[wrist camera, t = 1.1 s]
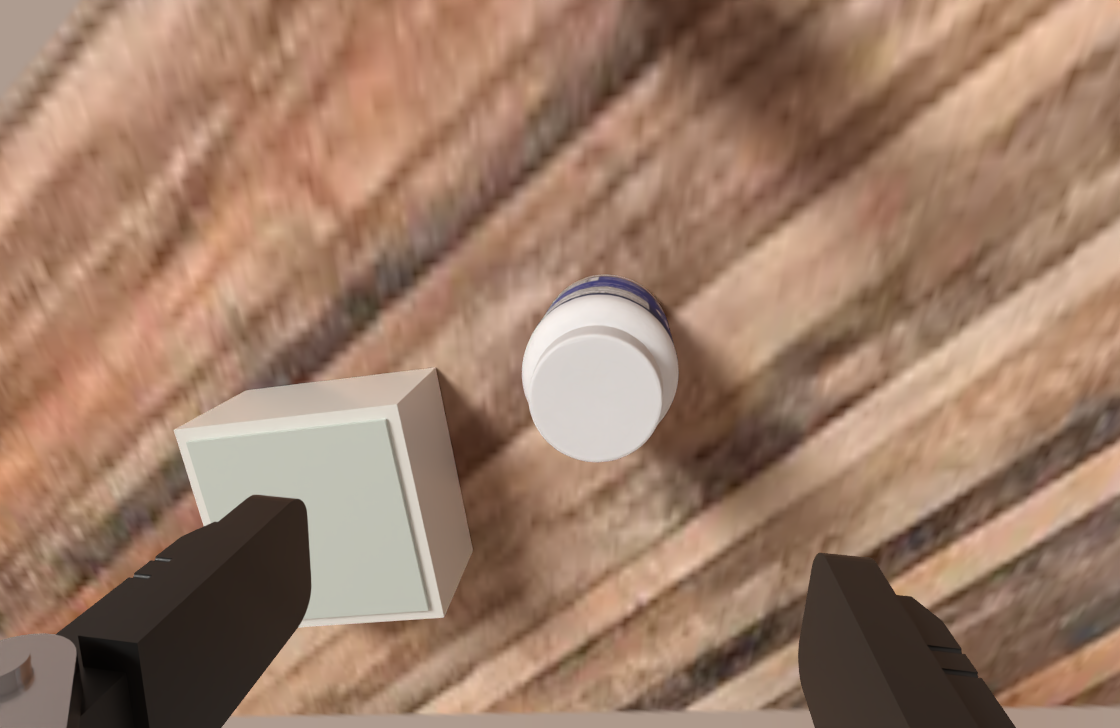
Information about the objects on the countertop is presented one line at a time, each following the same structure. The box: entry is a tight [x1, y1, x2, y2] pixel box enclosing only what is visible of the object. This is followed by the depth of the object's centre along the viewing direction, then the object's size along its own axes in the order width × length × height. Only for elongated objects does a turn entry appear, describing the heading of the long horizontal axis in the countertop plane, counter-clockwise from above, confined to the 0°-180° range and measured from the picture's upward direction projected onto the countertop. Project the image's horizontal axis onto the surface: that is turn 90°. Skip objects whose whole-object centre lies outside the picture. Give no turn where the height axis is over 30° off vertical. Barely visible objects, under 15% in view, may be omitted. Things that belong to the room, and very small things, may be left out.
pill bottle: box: [522, 275, 679, 462], centre depth 24 cm, size 5×5×9 cm
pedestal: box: [174, 367, 473, 627], centre depth 28 cm, size 9×9×5 cm
